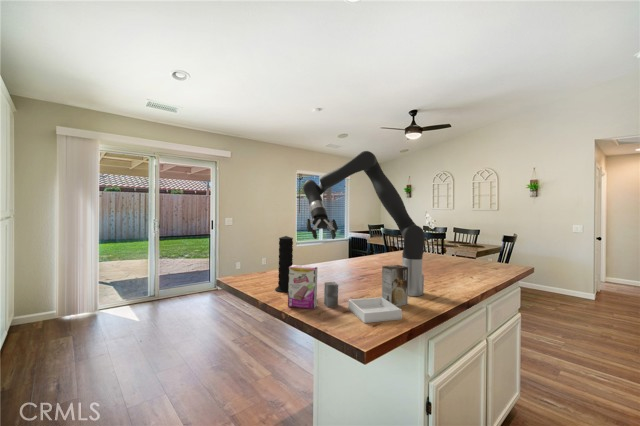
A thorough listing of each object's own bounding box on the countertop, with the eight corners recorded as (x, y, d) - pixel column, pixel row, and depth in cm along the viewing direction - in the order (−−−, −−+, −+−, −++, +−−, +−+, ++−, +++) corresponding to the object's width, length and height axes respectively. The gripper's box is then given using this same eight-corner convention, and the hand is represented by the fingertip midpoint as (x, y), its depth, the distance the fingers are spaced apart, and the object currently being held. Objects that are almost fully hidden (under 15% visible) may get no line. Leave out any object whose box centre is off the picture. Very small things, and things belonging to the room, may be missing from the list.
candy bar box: (287, 307, 113) (288, 266, 112) (291, 303, 118) (291, 264, 117) (314, 309, 110) (315, 268, 110) (317, 305, 115) (317, 266, 115)
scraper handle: (334, 302, 119) (334, 281, 119) (337, 306, 115) (338, 284, 115) (324, 303, 118) (324, 282, 118) (327, 307, 114) (327, 285, 113)
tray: (381, 305, 117) (381, 297, 117) (401, 319, 103) (401, 309, 102) (348, 308, 113) (348, 299, 113) (364, 323, 98) (364, 313, 98)
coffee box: (397, 300, 124) (398, 264, 124) (407, 304, 119) (408, 267, 118) (381, 303, 120) (381, 265, 120) (391, 307, 114) (392, 268, 114)
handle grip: (271, 291, 133) (291, 293, 131) (272, 236, 133) (292, 237, 131) (279, 286, 143) (297, 287, 141) (279, 234, 143) (298, 235, 141)
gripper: (305, 205, 131) (311, 232, 120) (334, 206, 136) (342, 232, 125) (302, 216, 136) (308, 243, 126) (329, 217, 141) (337, 242, 130)
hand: (325, 237), depth 125 cm, fingers open, 8 cm apart
